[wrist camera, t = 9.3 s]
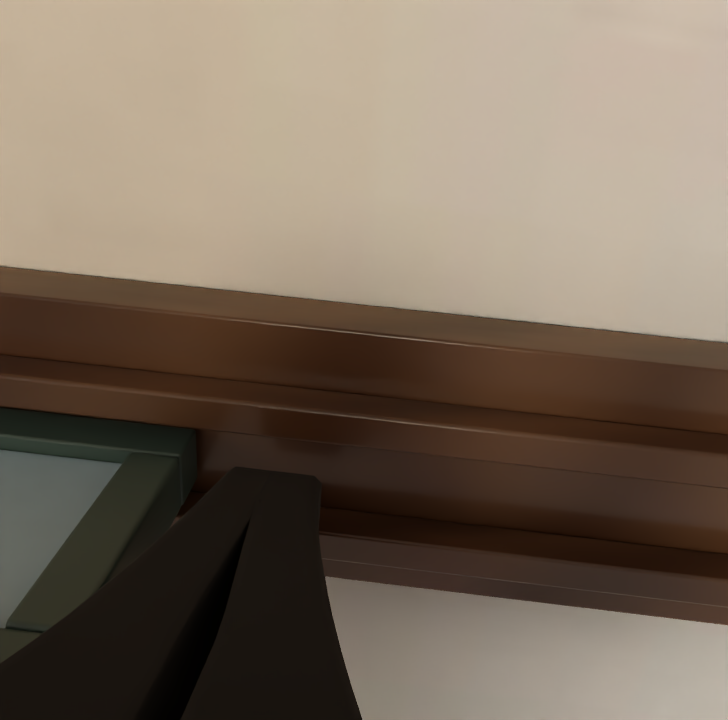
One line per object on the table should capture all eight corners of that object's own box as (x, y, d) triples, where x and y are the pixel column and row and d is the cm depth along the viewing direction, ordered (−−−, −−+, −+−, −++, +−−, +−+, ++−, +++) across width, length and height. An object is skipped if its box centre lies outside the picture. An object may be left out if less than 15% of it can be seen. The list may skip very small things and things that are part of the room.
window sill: (1370, 410, 10) (1560, 480, 9) (1176, 634, 12) (1296, 725, 11) (-507, 211, 11) (-671, 240, 10) (-390, 449, 14) (-506, 504, 12)
